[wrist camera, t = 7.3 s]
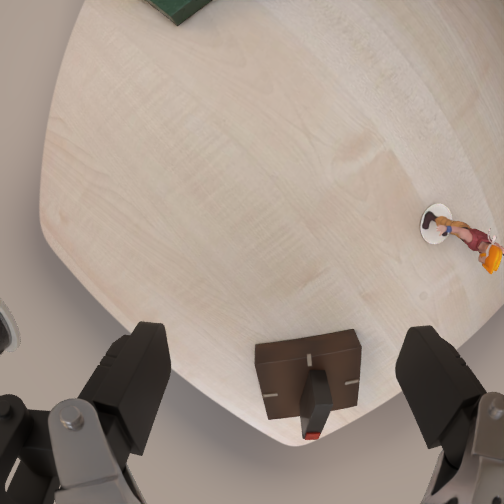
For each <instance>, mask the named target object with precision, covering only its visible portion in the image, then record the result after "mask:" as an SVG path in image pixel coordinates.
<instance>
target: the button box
mask: <svg viewBox="0 0 504 504" xmlns="http://www.w3.org/2000/svg"><path fill="white" fill-rule="evenodd" d="M145 1H147V2H148V3H149V4H151V5H152V6H153V7H155V8H156V9H157V10H158V11H160V12H161V13H162V14H163V15H165V16H166V17H167V18H168V19H170V20H171V21H172V22H173V23H174V24H176V25H177V26H178V25H180V24H181V23H182V22H183V21H185V20H186V19H187V18H188V17H190V16H191V15H192V14H194V13H195V12H196V11H198V10H199V9H200V8H202V7H203V6H205V5H206V4H207V3H209V2H210V1H212V0H145Z"/></svg>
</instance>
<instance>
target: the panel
mask: <svg viewBox="0 0 504 504" xmlns="http://www.w3.org/2000/svg"><path fill="white" fill-rule="evenodd" d="M361 349H362V347H361V344H360V342H359V340H358V338H357V335H356V333H355V331H354V329H351V330H346V331H341V332H336V333H330V334H325V335H319V336H313V337H307V338H301V339H294V340H287V341H280V342H273V343H265V344H257V345H255V368H256V372H257V376H258V380H259V384H260V388H261V392H262V396H263V400H264V404H265V408H266V412H267V416H268V420H271V419H281V418H289V417H297V416H300V409H299V405H300V401H301V398H302V395H303V391H304V388H305V384H306V381H307V377H308V373H309V370H325V371H326V375H327V379H328V384H329V388H330V392H331V396H332V401H333V407H332V409H331V411H334V410H339V409H344V408H349V407H353V406H357V401H358V391H359V380H360V366H361Z"/></svg>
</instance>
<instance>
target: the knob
mask: <svg viewBox="0 0 504 504" xmlns="http://www.w3.org/2000/svg"><path fill="white" fill-rule="evenodd" d="M332 407H333V401H332V396H331V392H330V388H329V384H328V379H327V375H326V371H325V370H309V373H308V377H307V381H306V384H305V388H304V391H303V395H302V398H301V401H300V405H299V409H300V418H301V427H302V437H303V439H305V440H317V439H318V438H319V436H320V434H321V432H322V430H323V428H324V425H325V423H326V421H327V418H328V416H329V414H330V411H331V409H332Z"/></svg>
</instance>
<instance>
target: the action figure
mask: <svg viewBox="0 0 504 504" xmlns="http://www.w3.org/2000/svg"><path fill="white" fill-rule="evenodd" d="M420 229H421V234H422V236H423V238H424V239H425V241H427V242H428V243H430V244H438V243H441V242H442V241H444V240H445V239H446V238H447V236H448V235H449V233H450V234H452V235H456V236H457V237H458V238H460V239H462V241H463V242H465V244H467V245H468V247H469V248H470V249H471V250H473V251H478V252H479V253H480V255H479V262H481V263H483V264H482V266H483V267H484V268H485V269H486V270H487V271H488V272H489V273H490V274H492V273H493V271H497V269H498V267H499V265H500V262H501V258H502V254H503V255H504V248H503V247H502V246H500V245H499V244H498V243H494V242H495V239H496V236H495V235H494V236H493V238H492V240H491V239H490V236H489V232H490V230H491V228H490V229H489V231H488V235H487V234H485V233H484V232H481V231H479V230H477V229H471V228H470V227H469V225H467V224H466V223H464V222H460V221H452V215H451V212H450V210H449V209H448V208H447V207H446V206H445V205H443V204H434V205H432V206H430V207H429V208H428V209H427V210H426V211H425V213H424V214H423V216H422V219H421V225H420Z"/></svg>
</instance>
